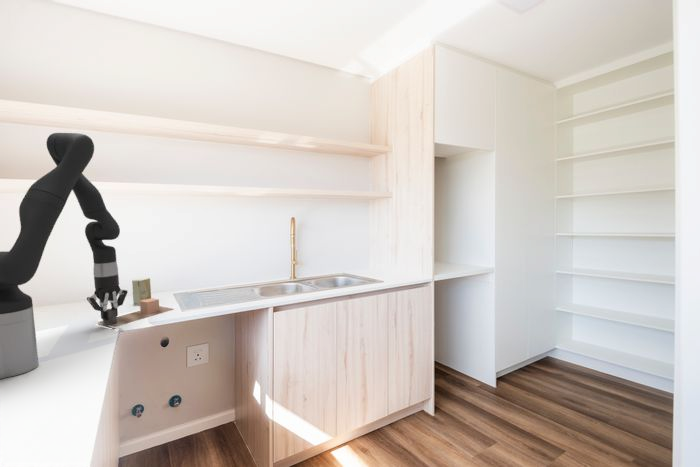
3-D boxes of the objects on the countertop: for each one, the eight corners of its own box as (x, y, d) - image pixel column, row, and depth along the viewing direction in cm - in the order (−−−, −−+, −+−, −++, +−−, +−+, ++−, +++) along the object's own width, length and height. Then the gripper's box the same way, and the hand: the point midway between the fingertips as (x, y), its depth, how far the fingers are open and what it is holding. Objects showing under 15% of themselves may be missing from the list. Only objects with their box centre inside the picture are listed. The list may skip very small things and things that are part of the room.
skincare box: (141, 307, 156) (139, 280, 155) (133, 307, 156) (131, 280, 155) (152, 303, 162) (150, 277, 161) (144, 303, 163) (142, 277, 162)
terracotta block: (147, 314, 142) (146, 302, 142) (140, 312, 145) (139, 301, 144) (159, 311, 147) (158, 299, 146) (152, 309, 149) (151, 298, 149)
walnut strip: (114, 329, 128) (113, 313, 128) (97, 324, 134) (96, 309, 134) (174, 311, 149) (173, 297, 149) (157, 307, 155) (156, 294, 154)
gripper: (90, 278, 123) (94, 326, 124) (131, 271, 135) (134, 315, 136) (79, 276, 126) (83, 323, 128) (120, 270, 139) (123, 312, 140)
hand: (109, 318), depth 132 cm, fingers closed on walnut strip, 2 cm apart
